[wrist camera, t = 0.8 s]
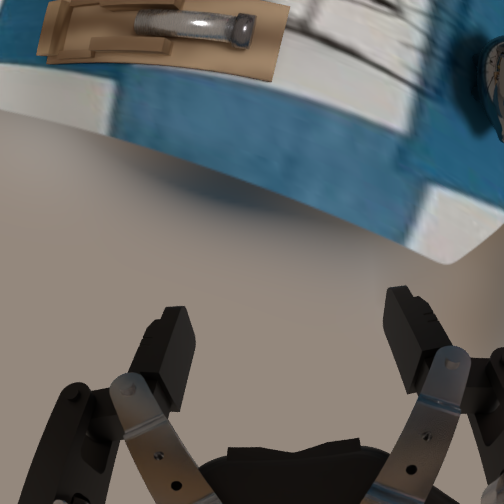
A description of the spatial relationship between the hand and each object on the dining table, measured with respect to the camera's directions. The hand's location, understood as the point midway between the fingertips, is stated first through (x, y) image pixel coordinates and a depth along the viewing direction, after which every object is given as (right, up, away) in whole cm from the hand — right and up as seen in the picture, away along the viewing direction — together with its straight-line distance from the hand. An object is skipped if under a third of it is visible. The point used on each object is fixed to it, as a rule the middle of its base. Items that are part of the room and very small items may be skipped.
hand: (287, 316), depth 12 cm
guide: (-12, +27, +15) cm, 33 cm away
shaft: (-7, +25, +14) cm, 30 cm away
